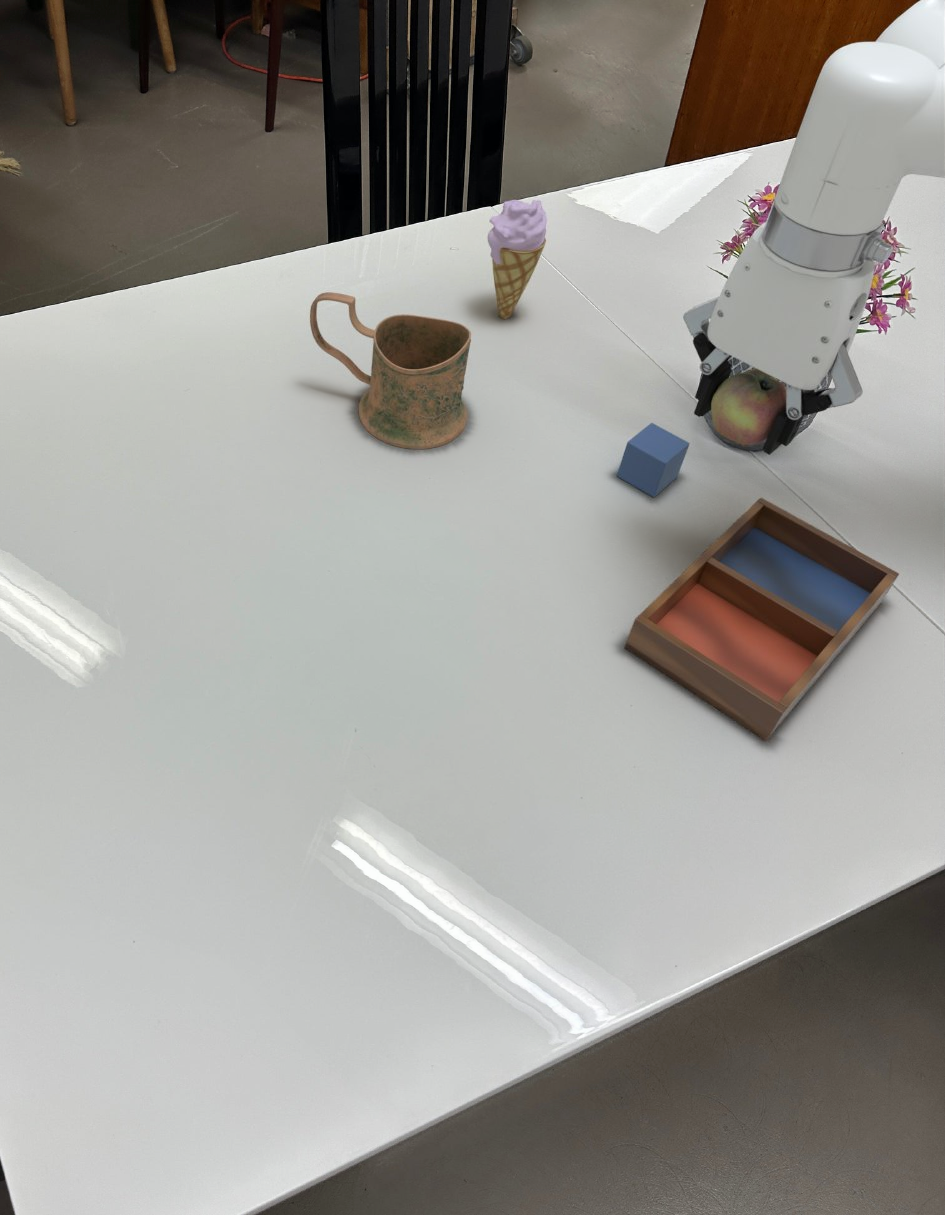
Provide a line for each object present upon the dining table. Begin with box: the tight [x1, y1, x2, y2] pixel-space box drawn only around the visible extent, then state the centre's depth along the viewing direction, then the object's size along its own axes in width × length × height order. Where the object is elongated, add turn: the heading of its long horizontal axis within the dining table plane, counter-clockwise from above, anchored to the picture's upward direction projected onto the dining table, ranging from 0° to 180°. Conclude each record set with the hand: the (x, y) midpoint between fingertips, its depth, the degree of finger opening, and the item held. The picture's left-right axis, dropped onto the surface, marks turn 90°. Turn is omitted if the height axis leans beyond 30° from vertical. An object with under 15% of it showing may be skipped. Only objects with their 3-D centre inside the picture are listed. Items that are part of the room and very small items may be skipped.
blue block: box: [616, 422, 691, 498], centre depth 109 cm, size 4×4×4 cm
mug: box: [309, 291, 472, 450], centre depth 112 cm, size 12×18×12 cm, turn 70°
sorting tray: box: [623, 497, 900, 742], centre depth 96 cm, size 22×14×4 cm, turn 137°
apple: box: [710, 368, 786, 446], centre depth 91 cm, size 6×8×6 cm
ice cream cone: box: [487, 199, 548, 320], centre depth 123 cm, size 7×6×15 cm
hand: (740, 425), depth 92 cm, fingers closed on apple, 6 cm apart
